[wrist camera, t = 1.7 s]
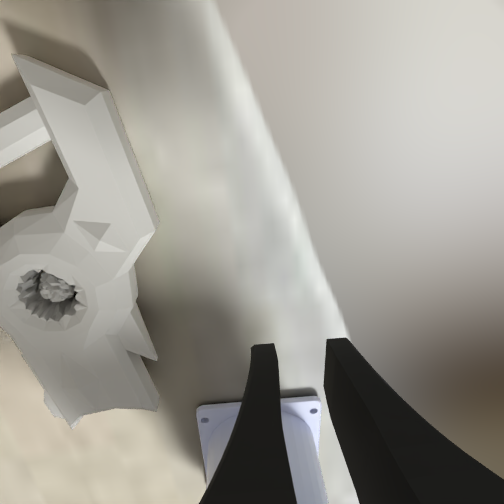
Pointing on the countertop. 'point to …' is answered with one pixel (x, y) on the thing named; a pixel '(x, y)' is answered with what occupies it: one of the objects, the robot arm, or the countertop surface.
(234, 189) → the countertop surface
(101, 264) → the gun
